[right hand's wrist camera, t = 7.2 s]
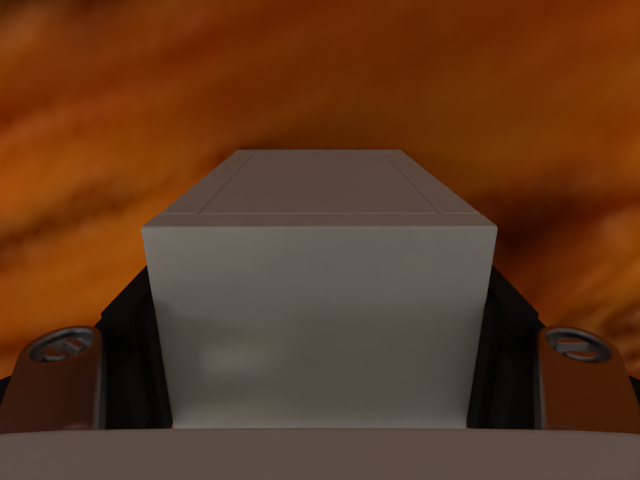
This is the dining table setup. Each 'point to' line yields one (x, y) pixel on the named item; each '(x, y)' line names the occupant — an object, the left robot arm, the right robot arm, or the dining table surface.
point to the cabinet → (319, 293)
